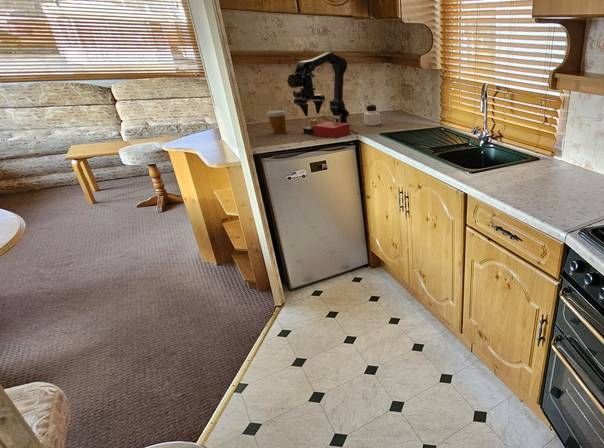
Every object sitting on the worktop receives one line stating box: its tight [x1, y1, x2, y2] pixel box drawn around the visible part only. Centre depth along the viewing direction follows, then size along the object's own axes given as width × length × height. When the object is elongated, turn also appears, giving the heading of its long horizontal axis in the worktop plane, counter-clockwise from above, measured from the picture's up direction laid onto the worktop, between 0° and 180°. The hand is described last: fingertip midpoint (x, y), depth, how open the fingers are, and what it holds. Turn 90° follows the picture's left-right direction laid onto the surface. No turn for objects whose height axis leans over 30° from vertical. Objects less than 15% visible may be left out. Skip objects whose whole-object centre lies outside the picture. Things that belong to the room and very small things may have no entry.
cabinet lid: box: [313, 115, 351, 129], centre depth 226 cm, size 13×15×5 cm
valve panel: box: [302, 125, 314, 136], centre depth 232 cm, size 10×9×3 cm
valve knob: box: [308, 118, 319, 128], centre depth 231 cm, size 4×4×4 cm
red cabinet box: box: [313, 125, 351, 139], centre depth 227 cm, size 13×15×5 cm
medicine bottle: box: [363, 104, 382, 127], centre depth 253 cm, size 7×7×12 cm
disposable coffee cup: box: [266, 109, 287, 135], centre depth 228 cm, size 10×10×12 cm
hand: (312, 114), depth 229 cm, fingers open, 9 cm apart
